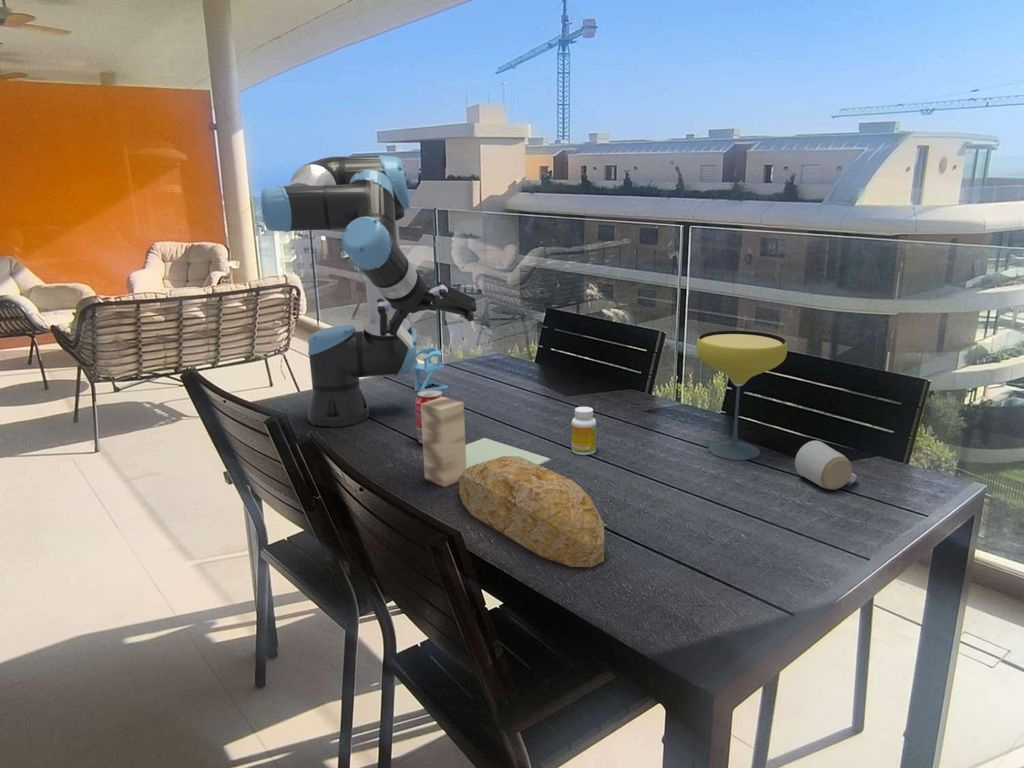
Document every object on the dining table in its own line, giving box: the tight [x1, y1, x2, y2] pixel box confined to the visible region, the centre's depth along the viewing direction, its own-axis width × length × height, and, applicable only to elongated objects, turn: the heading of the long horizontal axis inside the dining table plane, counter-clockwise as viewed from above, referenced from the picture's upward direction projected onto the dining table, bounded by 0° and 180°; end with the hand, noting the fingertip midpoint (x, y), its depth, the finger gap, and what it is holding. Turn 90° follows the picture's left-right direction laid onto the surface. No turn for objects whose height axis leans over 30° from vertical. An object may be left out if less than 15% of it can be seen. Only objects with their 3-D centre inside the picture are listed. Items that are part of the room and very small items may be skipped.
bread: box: [458, 456, 605, 568], centre depth 124 cm, size 36×11×10 cm, turn 38°
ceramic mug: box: [794, 440, 857, 491], centre depth 138 cm, size 11×8×8 cm
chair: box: [413, 347, 449, 392], centre depth 206 cm, size 8×8×12 cm
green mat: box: [465, 437, 551, 469], centre depth 154 cm, size 20×16×1 cm
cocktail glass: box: [696, 330, 788, 461], centre depth 153 cm, size 18×18×25 cm
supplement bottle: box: [571, 406, 597, 456], centre depth 157 cm, size 5×5×10 cm
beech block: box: [421, 396, 466, 488], centre depth 143 cm, size 6×6×16 cm
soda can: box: [414, 388, 445, 445], centre depth 164 cm, size 7×7×12 cm
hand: (441, 335), depth 148 cm, fingers open, 13 cm apart
